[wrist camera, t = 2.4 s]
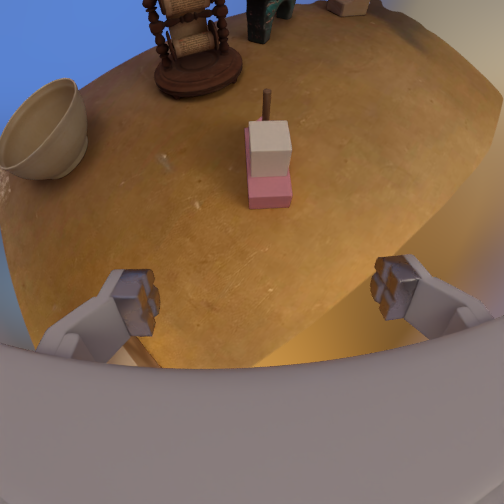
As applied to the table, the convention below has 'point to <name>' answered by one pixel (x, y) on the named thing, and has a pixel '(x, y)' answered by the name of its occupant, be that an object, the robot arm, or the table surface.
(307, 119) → the table surface
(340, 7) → the decorative block
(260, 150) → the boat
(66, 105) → the planter bowl
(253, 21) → the ceramic cat
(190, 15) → the scroll
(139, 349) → the birch block
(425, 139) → the table surface
